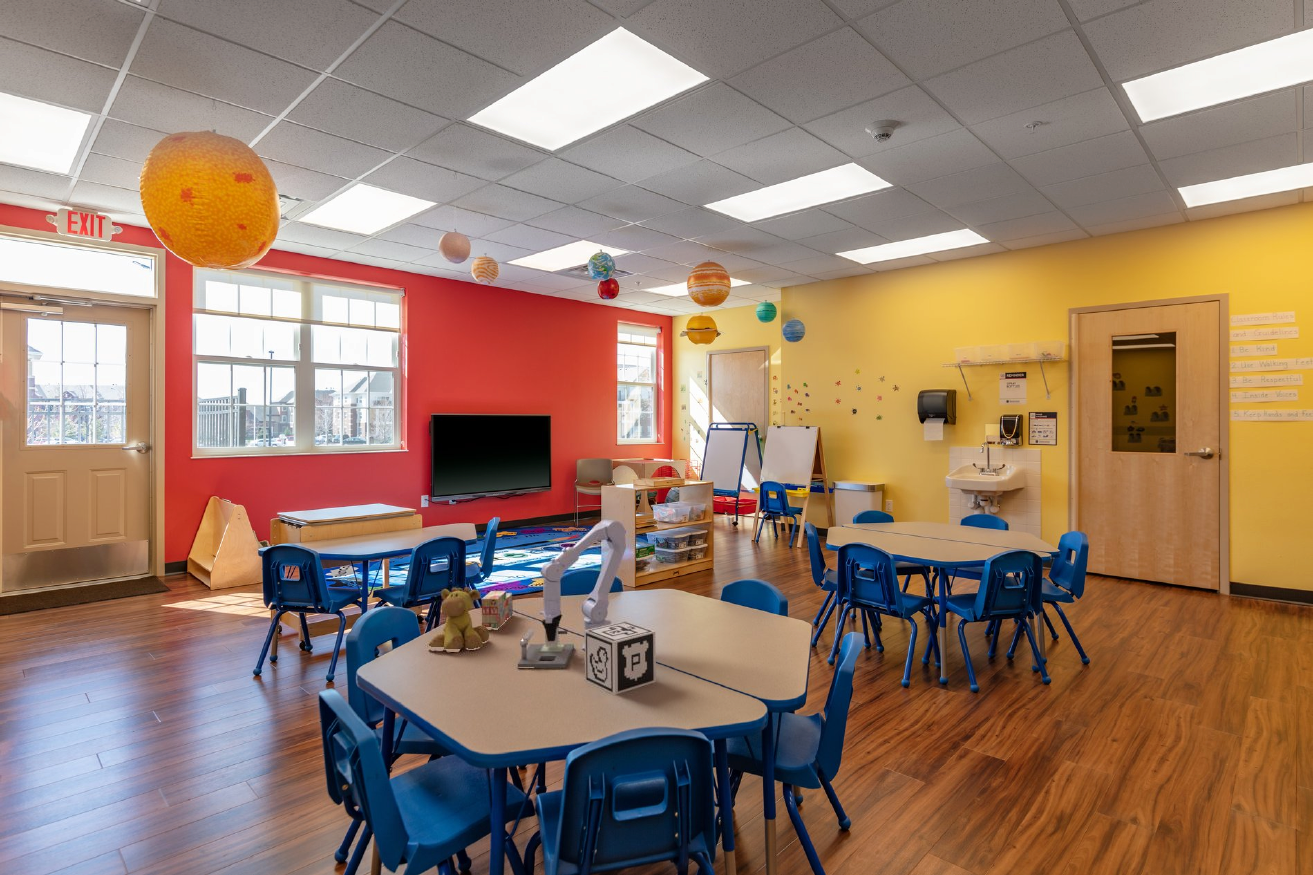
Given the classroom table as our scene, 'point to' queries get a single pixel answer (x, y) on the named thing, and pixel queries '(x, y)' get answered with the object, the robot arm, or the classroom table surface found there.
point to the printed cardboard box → (496, 608)
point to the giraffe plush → (459, 621)
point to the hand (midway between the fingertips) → (552, 638)
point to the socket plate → (546, 656)
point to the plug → (556, 641)
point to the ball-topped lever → (527, 637)
